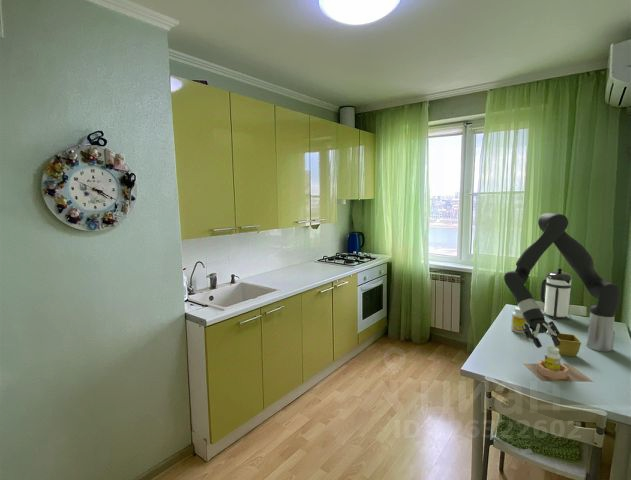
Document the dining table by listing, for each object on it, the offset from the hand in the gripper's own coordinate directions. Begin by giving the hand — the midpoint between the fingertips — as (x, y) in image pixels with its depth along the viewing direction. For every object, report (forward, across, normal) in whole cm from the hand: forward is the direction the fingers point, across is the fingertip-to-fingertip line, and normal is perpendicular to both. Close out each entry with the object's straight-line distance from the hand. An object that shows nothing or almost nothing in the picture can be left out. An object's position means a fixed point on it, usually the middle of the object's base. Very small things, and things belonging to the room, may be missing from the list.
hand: (549, 346), depth 147 cm
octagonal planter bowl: (+9, 0, +5) cm, 11 cm away
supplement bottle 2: (+9, 0, +5) cm, 10 cm away
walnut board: (+10, +2, +6) cm, 12 cm away
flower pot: (0, +20, +17) cm, 26 cm away
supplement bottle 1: (-20, +18, +37) cm, 46 cm away
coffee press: (-32, +54, +49) cm, 80 cm away
